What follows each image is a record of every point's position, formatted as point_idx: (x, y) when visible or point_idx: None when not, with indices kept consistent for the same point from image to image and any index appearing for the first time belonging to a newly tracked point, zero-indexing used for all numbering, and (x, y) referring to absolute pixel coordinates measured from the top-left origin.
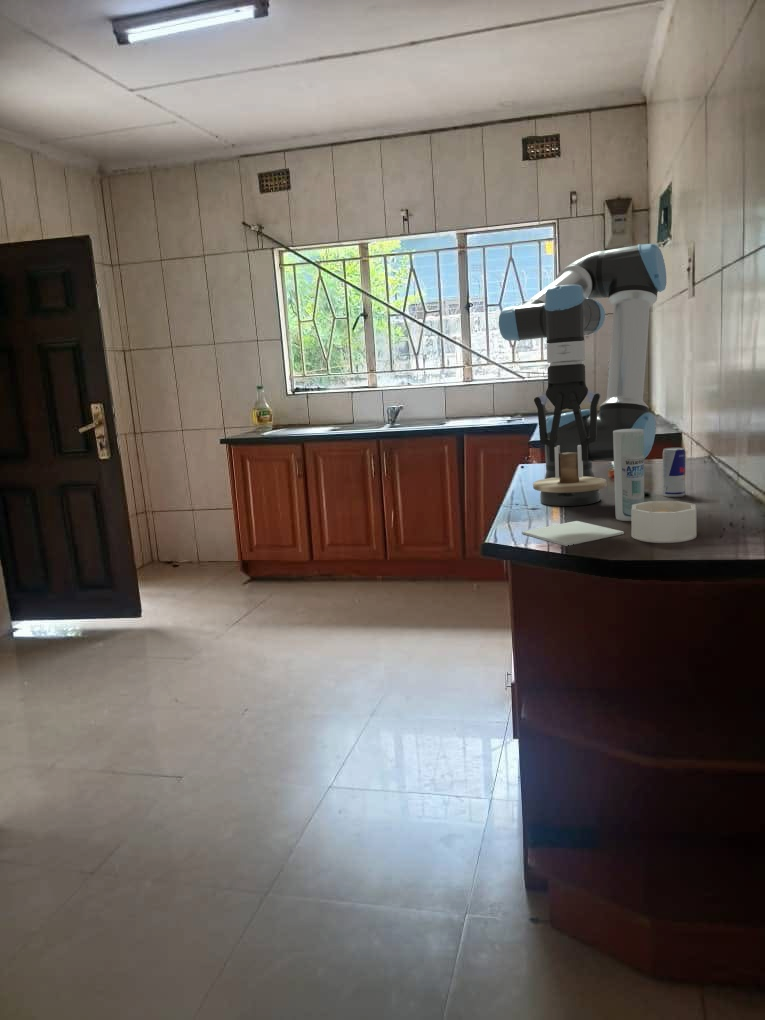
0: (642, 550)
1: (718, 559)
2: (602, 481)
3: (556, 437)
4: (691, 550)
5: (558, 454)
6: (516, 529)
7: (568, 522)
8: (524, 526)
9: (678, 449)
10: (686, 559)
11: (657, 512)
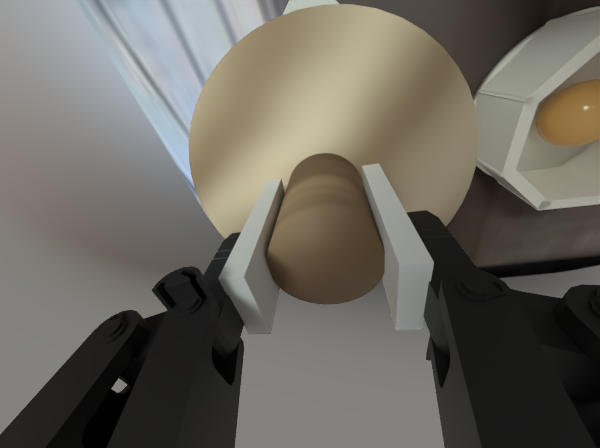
0: (466, 227)
1: (575, 255)
2: (456, 177)
3: (220, 376)
4: (556, 216)
5: (276, 289)
6: (185, 108)
7: (286, 11)
8: (182, 67)
9: None
10: (523, 260)
11: (562, 203)
